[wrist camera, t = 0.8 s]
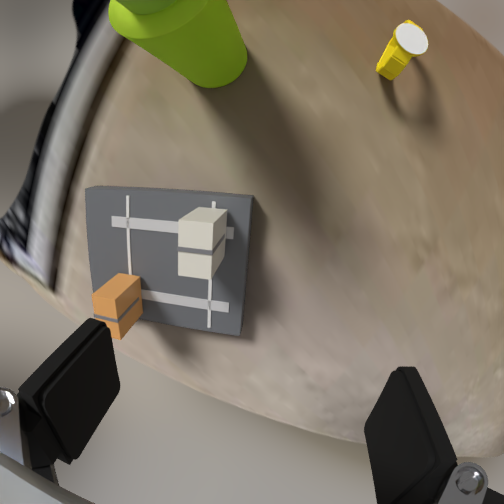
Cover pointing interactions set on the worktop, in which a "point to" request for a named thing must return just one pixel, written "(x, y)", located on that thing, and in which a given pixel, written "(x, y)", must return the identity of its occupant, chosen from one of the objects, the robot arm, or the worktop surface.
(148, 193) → the mixer panel
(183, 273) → the fader ivory
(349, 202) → the worktop surface
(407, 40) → the watch
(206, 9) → the soap dispenser
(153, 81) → the worktop surface
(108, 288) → the fader orange
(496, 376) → the worktop surface
